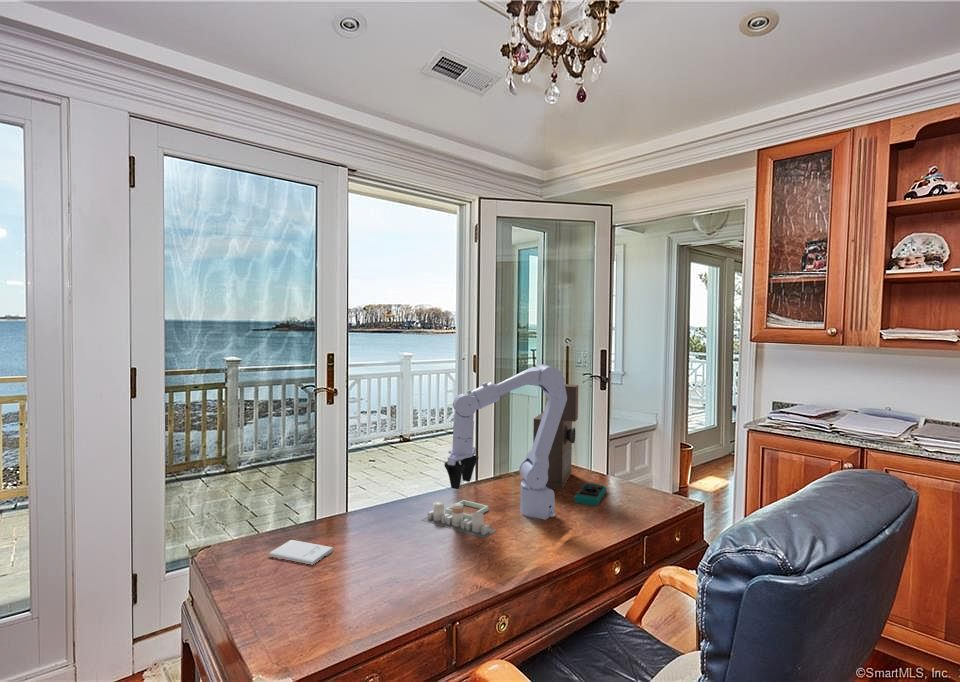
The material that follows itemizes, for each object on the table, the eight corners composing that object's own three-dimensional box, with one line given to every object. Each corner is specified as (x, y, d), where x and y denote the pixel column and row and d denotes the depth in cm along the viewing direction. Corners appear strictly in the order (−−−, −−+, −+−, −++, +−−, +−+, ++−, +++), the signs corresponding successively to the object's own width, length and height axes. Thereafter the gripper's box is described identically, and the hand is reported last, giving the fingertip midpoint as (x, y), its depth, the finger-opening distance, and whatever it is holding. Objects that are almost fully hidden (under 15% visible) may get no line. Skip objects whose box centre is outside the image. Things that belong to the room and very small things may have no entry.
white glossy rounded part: (446, 519, 142) (446, 503, 142) (439, 522, 140) (439, 506, 139) (437, 516, 144) (437, 501, 144) (430, 520, 141) (431, 504, 141)
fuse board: (496, 534, 135) (496, 523, 135) (484, 542, 130) (484, 531, 130) (434, 517, 146) (434, 507, 146) (420, 524, 141) (420, 513, 141)
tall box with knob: (573, 491, 170) (575, 386, 169) (532, 486, 175) (533, 384, 174) (582, 475, 188) (583, 380, 187) (544, 470, 193) (545, 378, 192)
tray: (488, 514, 149) (488, 506, 149) (471, 524, 142) (471, 515, 142) (463, 507, 154) (463, 499, 154) (445, 517, 147) (445, 508, 147)
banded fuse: (465, 524, 139) (465, 504, 138) (458, 528, 136) (459, 507, 136) (456, 521, 140) (456, 502, 140) (449, 525, 138) (449, 505, 137)
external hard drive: (292, 545, 129) (333, 552, 125) (268, 559, 121) (312, 568, 117) (291, 539, 129) (333, 546, 125) (268, 552, 121) (312, 561, 117)
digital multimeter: (606, 493, 170) (606, 484, 170) (597, 507, 156) (597, 498, 156) (584, 490, 173) (585, 481, 173) (573, 504, 159) (573, 494, 159)
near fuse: (485, 530, 135) (485, 513, 135) (479, 533, 132) (479, 516, 132) (475, 527, 137) (476, 510, 137) (469, 531, 134) (469, 514, 134)
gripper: (461, 430, 152) (459, 475, 152) (438, 439, 139) (436, 489, 139) (482, 433, 149) (480, 479, 150) (462, 443, 136) (459, 493, 136)
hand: (460, 484), depth 144 cm, fingers open, 7 cm apart
